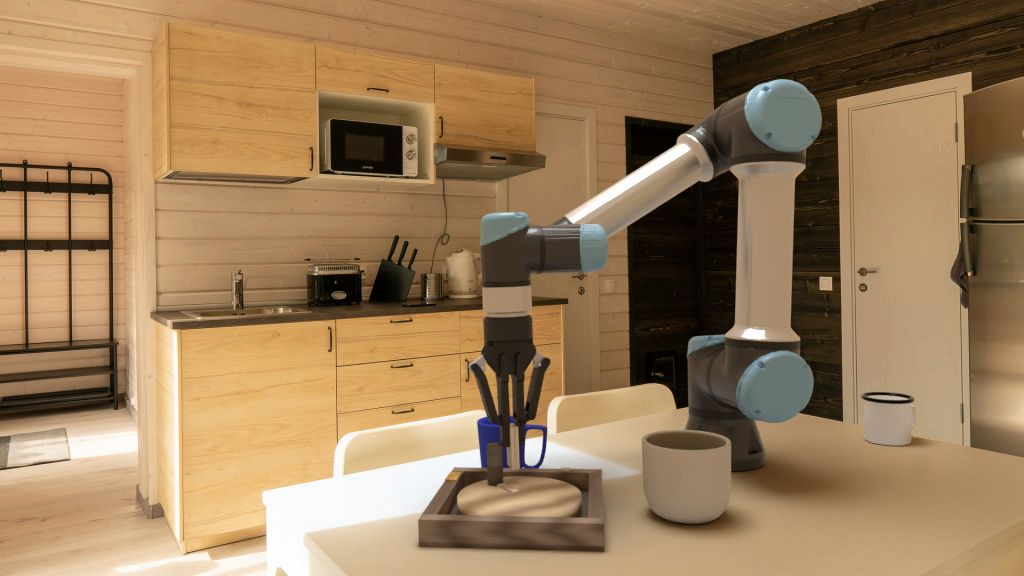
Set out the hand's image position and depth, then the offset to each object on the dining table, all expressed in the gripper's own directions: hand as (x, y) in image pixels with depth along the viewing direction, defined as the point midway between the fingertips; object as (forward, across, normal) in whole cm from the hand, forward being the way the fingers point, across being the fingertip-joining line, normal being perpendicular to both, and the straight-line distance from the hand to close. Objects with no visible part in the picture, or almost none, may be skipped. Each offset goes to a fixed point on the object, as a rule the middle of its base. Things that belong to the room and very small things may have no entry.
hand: (513, 466), depth 109 cm
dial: (+5, +1, +6) cm, 8 cm away
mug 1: (+6, -3, -11) cm, 13 cm away
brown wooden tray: (+5, +1, +6) cm, 8 cm away
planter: (+6, -22, +14) cm, 26 cm away
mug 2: (+7, -82, -10) cm, 82 cm away
